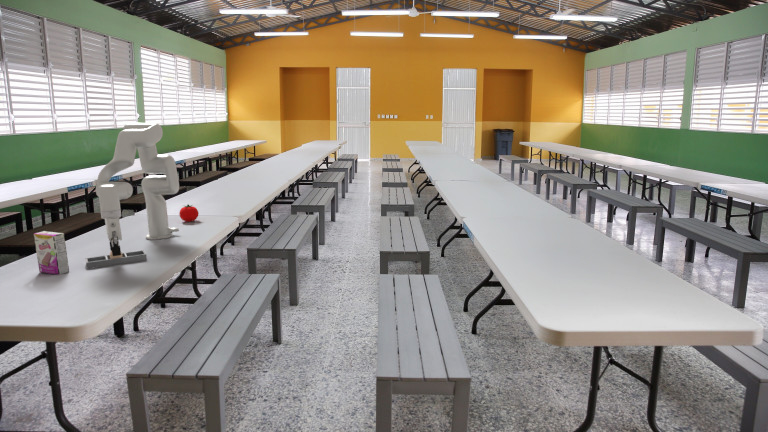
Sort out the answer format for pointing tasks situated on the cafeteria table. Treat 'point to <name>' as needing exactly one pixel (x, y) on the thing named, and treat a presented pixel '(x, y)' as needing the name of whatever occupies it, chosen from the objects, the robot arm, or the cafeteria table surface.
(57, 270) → the candy bar box
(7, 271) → the cafeteria table surface
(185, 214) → the tomato
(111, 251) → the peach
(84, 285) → the cafeteria table surface
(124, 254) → the tray
